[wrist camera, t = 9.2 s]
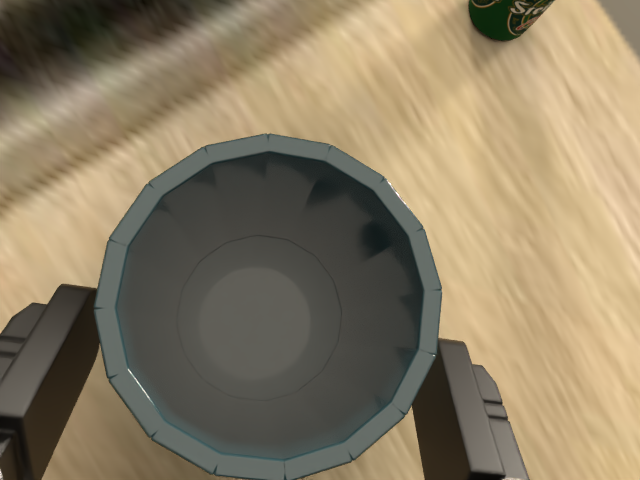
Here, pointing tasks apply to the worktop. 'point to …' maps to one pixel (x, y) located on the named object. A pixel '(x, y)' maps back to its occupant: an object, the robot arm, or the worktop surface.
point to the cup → (268, 308)
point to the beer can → (506, 16)
